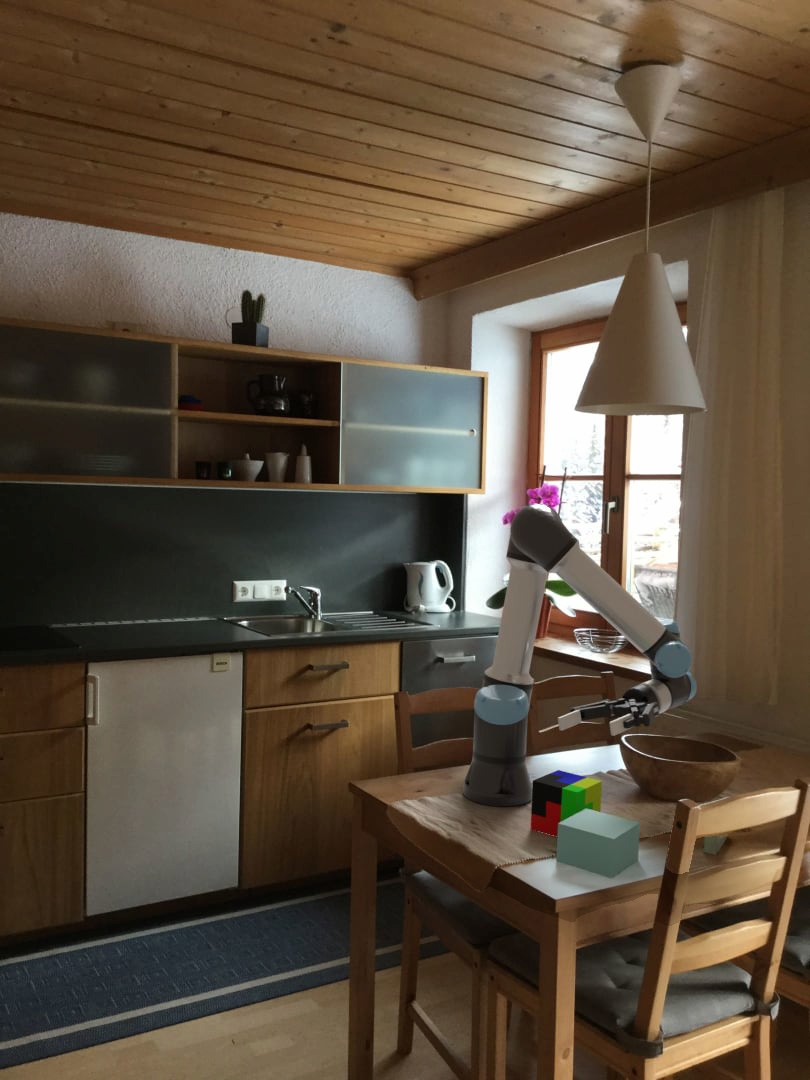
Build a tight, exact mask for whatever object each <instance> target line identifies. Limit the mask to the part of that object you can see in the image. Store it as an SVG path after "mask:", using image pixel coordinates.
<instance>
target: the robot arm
mask: <svg viewBox="0 0 810 1080" xmlns="http://www.w3.org/2000/svg"><path fill="white" fill-rule="evenodd" d="M509 529H510V531H509V532H510V534H509V539H508V544H507V545H508V546H507V550H506V556H505V558H506V560H507V562H508V563H509V564H510V569H509V577H508V582H507V586H506V591H505V597H504V602H503V607H502V611H501V612H502V613H501V619H500V625H499V629H498V634H497V640H496V645H495V650H494V655H493V656H494V657H493V661H492V665H491V666H490V667H488V668H486V669H485V670H484V675H483V680H482V685H481V688H480V689H479V690H477V691H476V693H475V697H474V698H475V699H474V701H473V709H474V719H473V721H474V722H473V723H474V724H473V741H472V742H473V743H472V745H473V747H472V758H471V759H472V760H471V763H470V766H469V768H468V770H467V774H466V775H465V779H464V781H463V788H462V791H463V792H462V793H463V795H464V797H465V798H467V799H468V800H470V801H472V802H475V803H478V804H481V805H485V806H495V807H516V806H522V805H524V804H528V803H529V802H531V801H532V787H533V784H532V782H531V779H530V778H531V777H530V774H529V771H528V767H527V762H526V756H527V742H528V741H527V739H528V738H527V737H528V721H529V720H528V717H529V711H530V705H531V704H530V703H531V697H532V693H533V687H534V683H535V680H534V679H533V677H532V676H531V674H530V669H531V663H532V660H533V659H532V658H533V654H534V646H535V642H536V637H537V632H538V625H539V622H540V615H541V610H542V605H543V600H544V595H545V589H546V584H547V578H548V574H556V575H557V576H558V577H559V578H560V579H561V580H562V581H564V583H566V584H567V585H568V586H569V587H570V588H571V589H573V591H574V592H576V594H578V595H579V596H580V597H581V598H582V599H583V600H584V601H585V602H586V603H587V604H588V605H589V606H591V607H592V609H594V610H595V611H596V612H597V613H598V614H599V615H600V616H602V617H603V619H605V620H606V621H607V622H608V624H610V625H611V626H612V627H613V628H614V629H616V631H617V632H619V633H620V634H621V635H622V636H623V637H624V638H625V639H626V640H627V641H628V642H629V643H631V644H632V645H633V646H634V647H635V648H636V649H637V650H638V651H639V652H640V653H641V654H642V655H643V656H644V657H645V658H647V660H648V661H649V667H650V674H651V679H650V680H647V681H643V682H641V683H640V684H637V685H635V686H633V687H630V688H628V689H626V691H624V693H623V695H622V697H621V698H617V699H615V700H611V699H609V698H607V699H604V700H600V701H598V702H592V703H589V704H583V705H579V706H574V707H570V708H569V711H570V712H569V713H566V714H564V715H562V716H559V717H557V724H558V728H559V731H564V730H567V729H570V728H571V727H572V728H573V727H574V726H576V725H577V726H580V724H581V723H582V721H583V722H584V721H590V720H596V719H601V718H602V719H603V718H608V719H609V720H610V719H614V720H611V721H610V722H609V728H610V729H609V731H610V735H611V736H613V737H614V736H616V735H619V734H621V733H625V732H626V731H628V730H630V729H632V728H634V727H641V725H643V727H647V728H648V727H650V726H651V724H652V723H653V720H654V719H655V718H656V717H659V715H660V714H662V713H664V712H666V711H668V710H671V709H674V708H675V707H678V706H683V705H684V704H685V703H686V702H688V701H690V700H692V699H693V697H695V696H696V694H697V688H698V687H697V680H696V679H695V678H694V676H693V674H692V673H691V672H690V670H691V667H692V665H693V656H692V651H691V650H690V648H689V647H688V646H687V645H686V644H685V643H684V642H682V640H681V636H680V635H681V631H680V630H679V625H678V623H677V622H676V621H674V620H658V619H657V618H656V617H655V616H654V615H653V613H651V612H650V611H648V609H647V608H645V607H644V606H643V605H642V603H640V602H639V601H638V600H637V599H635V597H634V596H633V595H631V594H630V593H629V592H628V591H627V589H625V588H624V587H623V586H622V585H621V584H619V582H617V580H615V579H614V578H613V577H612V576H611V575H610V574H609V573H608V572H607V571H605V570H604V568H602V567H601V566H600V565H599V564H598V563H597V562H596V561H595V560H593V559H592V558H591V557H590V555H588V554H587V553H586V552H585V551H584V550H582V548H581V547H580V540H579V539H577V537H575V535H573V533H572V532H570V530H569V529H568V528H567V526H566V525H565V524H564V523H563V520H562V519H561V517H560V515H559V514H558V512H557V511H556V510H555V509H554V508H553V507H551V506H549V505H547V504H543V503H530V504H528V505H525V506H523V507H522V508H521V509H519V510H518V511H517V512H516V513H515V515H514V517H513V518H512V521H511V523H510V528H509ZM612 713H613V714H612Z"/></svg>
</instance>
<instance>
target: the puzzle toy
mask: <svg viewBox="0 0 810 1080" xmlns="http://www.w3.org/2000/svg"><path fill="white" fill-rule="evenodd" d="M602 789H603V780H600V779H596V778H592V777H588V776H583V775H581V774H576V773H573V772H568V771H564V770H560V769H557V770H555V771H552V772H550V773H548V774H545V775H543V776H541V777H538V778H536V779H533V780H532V799H531V811H530V812H531V813H530V830H531V829H532V830H531V831H534V830H536V831H535V832H537V831H540V832H543V833H542V834H544V833H547V834H550V835H554V836H557V837H558V823H560V822H562V821H564V820H565V819H567V818H569V817H571V816H573V815H575V814H576V813H578V812H580V811H582V810H584V809H590V810H594V811H598V812H601V810H602V809H601V805H602ZM540 832H539V833H540ZM547 834H546V835H547ZM550 835H549V836H550ZM554 836H553V837H554ZM557 837H556V838H557Z"/></svg>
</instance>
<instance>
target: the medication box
mask: <svg viewBox="0 0 810 1080" xmlns="http://www.w3.org/2000/svg"><path fill="white" fill-rule="evenodd" d="M728 836H729V833H728V834H727V835H720V836H712V837H704V836H703V843H702V853H706V854H709V855H717V854H718V851H720V849H721V847H722V846H723V845H724V843H725V841H726V840H727V839H728Z"/></svg>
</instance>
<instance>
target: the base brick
mask: <svg viewBox="0 0 810 1080" xmlns="http://www.w3.org/2000/svg"><path fill="white" fill-rule="evenodd" d="M640 829H641V822H639V821H635V820H631V819H628V818H623V817H620V816H616V815H613V814H609V813H605V812H601V811H600V812H598V811H594V810H590V809H584V810H582V811H580V812H578V813H576V814H575V815H573V816H571V817H569V818H567V819H565V820H564V821H562V822H560V823H558V838H557V837H556V839H557V840H556V841H557V843H556V862H559V863H563V864H565V865H569V866H571V867H575V868H579V869H581V870H584V871H588V872H591V873H594V874H598V875H601V876H604V877H607V878H609V879H610V878H611V879H613V878H614V877H616V876H617V875H618V874H620V873H621V872H622V871H624V870H626V869H627V868H628V867H630V866H631V865H633V864H634V863H636V862H637V861H638V860H639V849H640V847H639V846H640V831H641V830H640Z"/></svg>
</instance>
